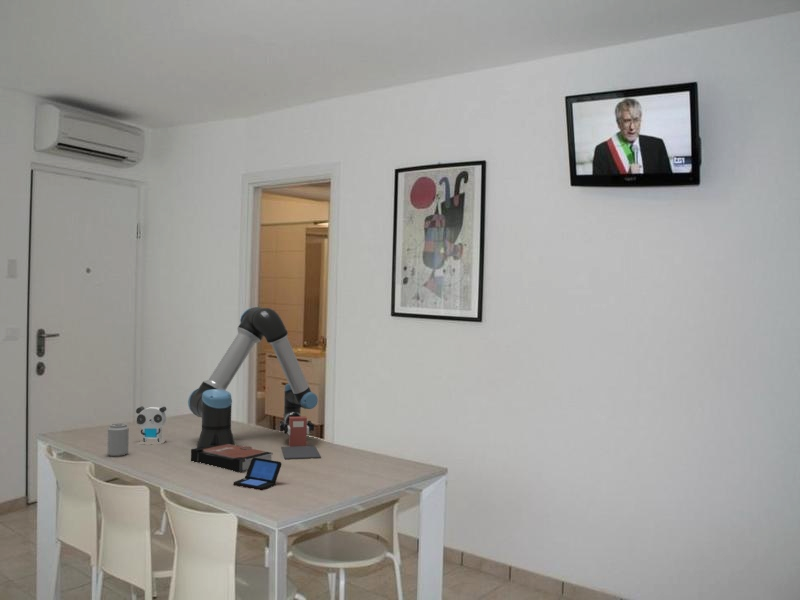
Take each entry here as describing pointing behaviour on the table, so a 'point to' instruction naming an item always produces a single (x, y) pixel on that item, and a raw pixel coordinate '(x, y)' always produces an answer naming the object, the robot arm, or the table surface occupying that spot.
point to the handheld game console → (260, 474)
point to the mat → (300, 452)
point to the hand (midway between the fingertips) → (298, 431)
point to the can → (118, 439)
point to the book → (228, 456)
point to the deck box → (298, 431)
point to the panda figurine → (151, 422)
